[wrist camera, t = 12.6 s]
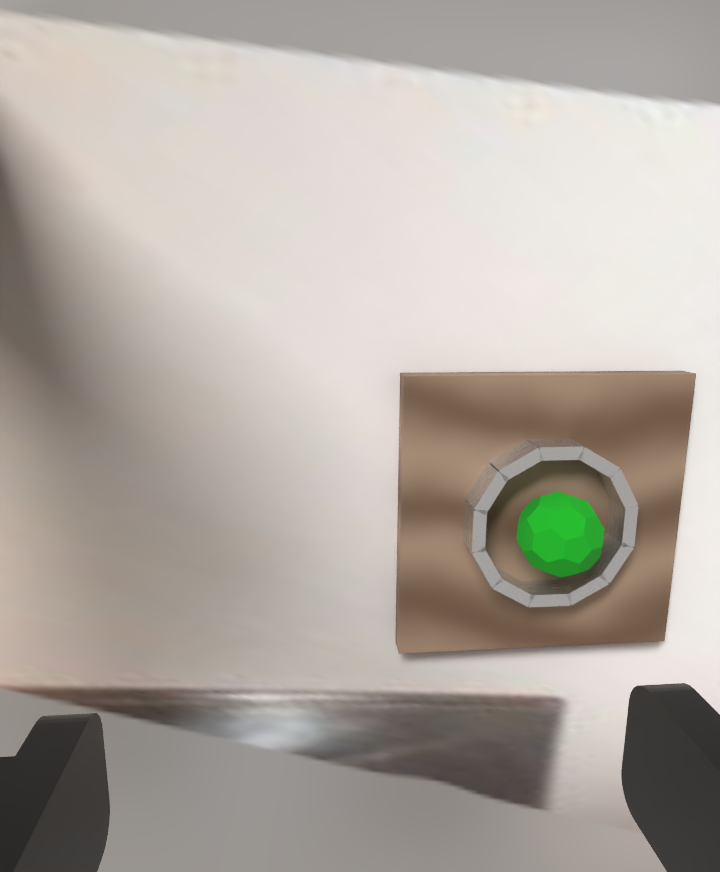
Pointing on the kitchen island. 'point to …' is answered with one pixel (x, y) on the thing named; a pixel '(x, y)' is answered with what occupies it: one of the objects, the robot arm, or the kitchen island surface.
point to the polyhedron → (560, 534)
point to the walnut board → (496, 434)
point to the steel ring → (614, 542)
